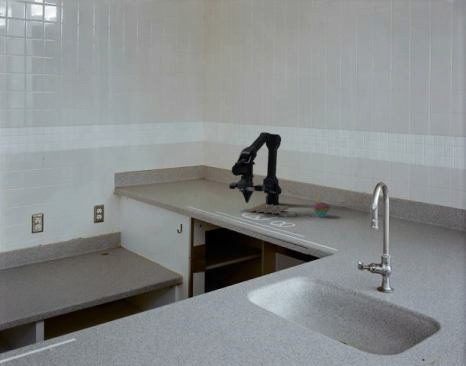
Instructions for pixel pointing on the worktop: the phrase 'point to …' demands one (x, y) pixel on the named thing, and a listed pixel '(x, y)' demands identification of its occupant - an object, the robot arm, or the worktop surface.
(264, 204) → the domino
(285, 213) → the domino
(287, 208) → the domino
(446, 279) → the worktop surface
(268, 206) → the domino
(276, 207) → the domino
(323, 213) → the cupcake
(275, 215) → the mat
